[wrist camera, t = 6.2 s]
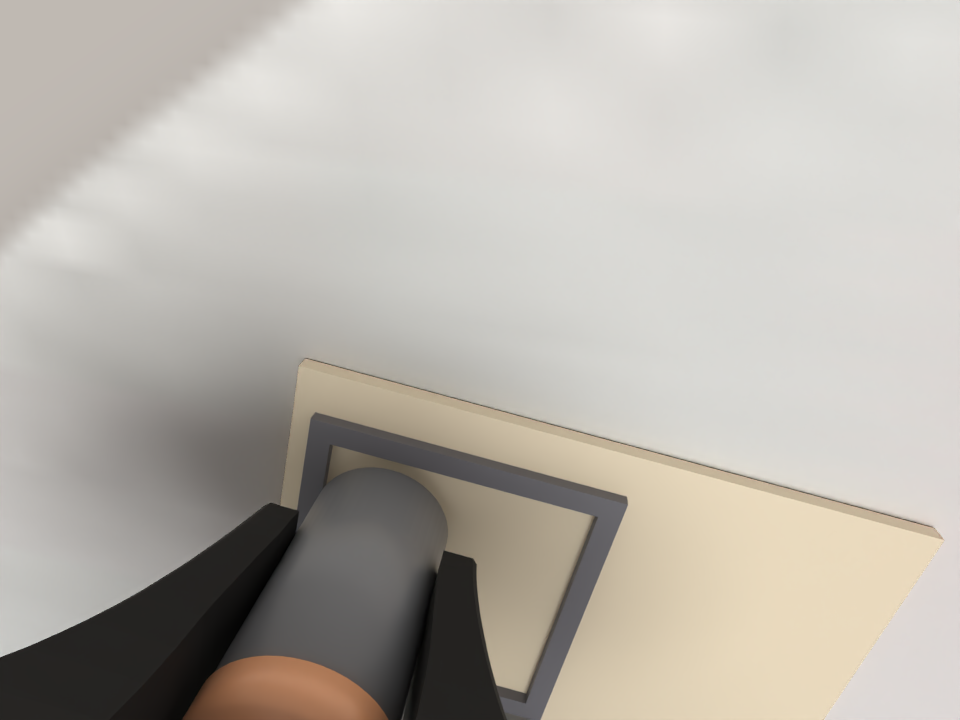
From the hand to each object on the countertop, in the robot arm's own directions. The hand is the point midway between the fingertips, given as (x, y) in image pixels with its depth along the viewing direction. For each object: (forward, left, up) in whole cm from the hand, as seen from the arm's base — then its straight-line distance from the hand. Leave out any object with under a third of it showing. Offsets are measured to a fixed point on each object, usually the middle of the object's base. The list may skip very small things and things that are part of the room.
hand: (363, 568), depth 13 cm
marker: (0, 0, -1) cm, 1 cm away
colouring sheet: (-4, -4, -2) cm, 7 cm away
